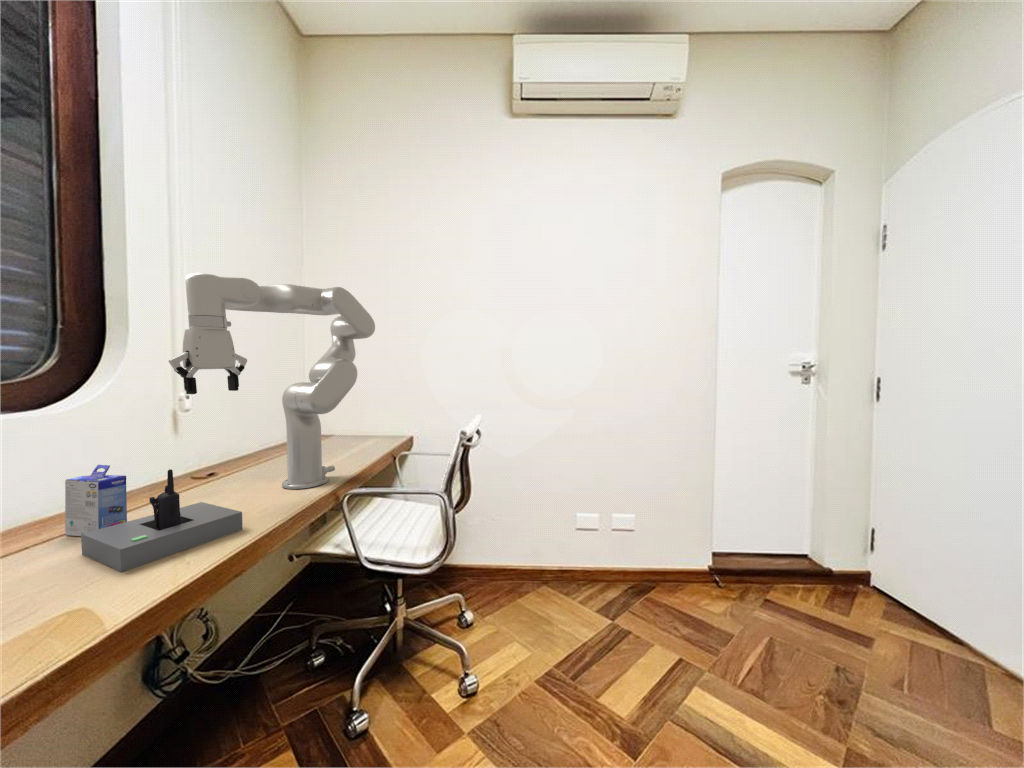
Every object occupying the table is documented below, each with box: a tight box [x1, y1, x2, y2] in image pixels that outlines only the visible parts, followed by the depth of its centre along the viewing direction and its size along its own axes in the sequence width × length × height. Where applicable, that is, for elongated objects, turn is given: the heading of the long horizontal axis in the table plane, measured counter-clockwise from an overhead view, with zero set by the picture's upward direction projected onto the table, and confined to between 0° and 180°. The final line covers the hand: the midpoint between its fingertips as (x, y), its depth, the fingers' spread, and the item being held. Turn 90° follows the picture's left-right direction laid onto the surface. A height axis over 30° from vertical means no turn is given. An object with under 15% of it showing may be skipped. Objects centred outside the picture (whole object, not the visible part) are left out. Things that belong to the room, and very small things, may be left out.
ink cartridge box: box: [64, 464, 128, 537], centre depth 85 cm, size 10×6×14 cm, turn 78°
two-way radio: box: [148, 469, 181, 531], centre depth 79 cm, size 6×4×15 cm
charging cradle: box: [80, 501, 244, 573], centre depth 80 cm, size 20×16×4 cm
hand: (213, 392), depth 99 cm, fingers open, 9 cm apart
